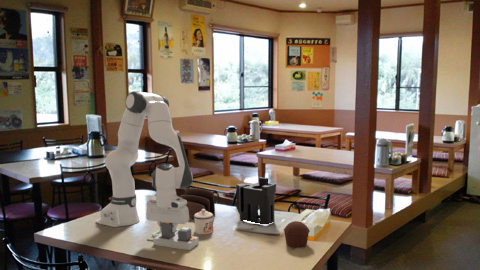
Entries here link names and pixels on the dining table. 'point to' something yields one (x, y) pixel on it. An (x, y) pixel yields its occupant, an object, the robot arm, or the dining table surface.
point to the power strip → (175, 242)
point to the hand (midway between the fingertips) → (168, 231)
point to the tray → (161, 231)
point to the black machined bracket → (256, 201)
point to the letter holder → (199, 201)
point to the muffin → (296, 234)
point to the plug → (167, 230)
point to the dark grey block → (184, 234)
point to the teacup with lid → (204, 222)
